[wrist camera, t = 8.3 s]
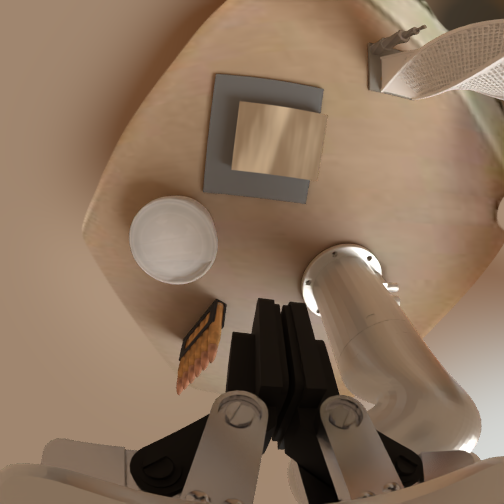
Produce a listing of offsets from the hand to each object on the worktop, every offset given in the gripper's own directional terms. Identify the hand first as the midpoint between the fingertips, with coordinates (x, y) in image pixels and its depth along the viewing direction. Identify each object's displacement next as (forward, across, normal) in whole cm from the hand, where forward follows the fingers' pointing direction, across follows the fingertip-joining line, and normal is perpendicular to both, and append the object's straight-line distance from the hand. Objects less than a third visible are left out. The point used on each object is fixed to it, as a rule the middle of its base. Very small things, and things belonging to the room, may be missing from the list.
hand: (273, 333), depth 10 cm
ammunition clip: (+28, +6, +22) cm, 36 cm away
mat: (+27, +1, -7) cm, 28 cm away
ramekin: (+28, +10, +7) cm, 30 cm away
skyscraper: (+28, -16, -19) cm, 37 cm away
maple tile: (+26, +4, -6) cm, 27 cm away
